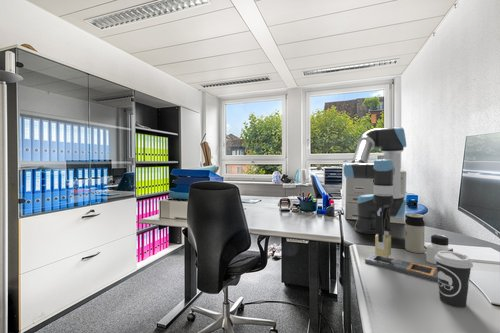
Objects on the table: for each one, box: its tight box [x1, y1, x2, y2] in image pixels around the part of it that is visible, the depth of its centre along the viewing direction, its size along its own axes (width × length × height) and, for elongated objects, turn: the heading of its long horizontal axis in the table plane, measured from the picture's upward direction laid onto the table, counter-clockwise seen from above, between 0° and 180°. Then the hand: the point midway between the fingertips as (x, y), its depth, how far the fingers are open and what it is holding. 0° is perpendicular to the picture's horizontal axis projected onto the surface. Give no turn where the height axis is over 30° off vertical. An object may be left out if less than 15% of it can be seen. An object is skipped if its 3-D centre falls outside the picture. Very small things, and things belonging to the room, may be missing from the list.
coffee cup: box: [434, 251, 474, 308], centre depth 79 cm, size 10×10×15 cm
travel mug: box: [404, 212, 425, 254], centre depth 123 cm, size 8×8×18 cm
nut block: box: [374, 234, 392, 258], centre depth 108 cm, size 5×5×8 cm
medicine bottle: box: [425, 234, 454, 266], centre depth 108 cm, size 7×7×12 cm
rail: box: [364, 252, 438, 283], centre depth 103 cm, size 9×26×2 cm, turn 46°
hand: (383, 246), depth 109 cm, fingers closed on nut block, 5 cm apart
